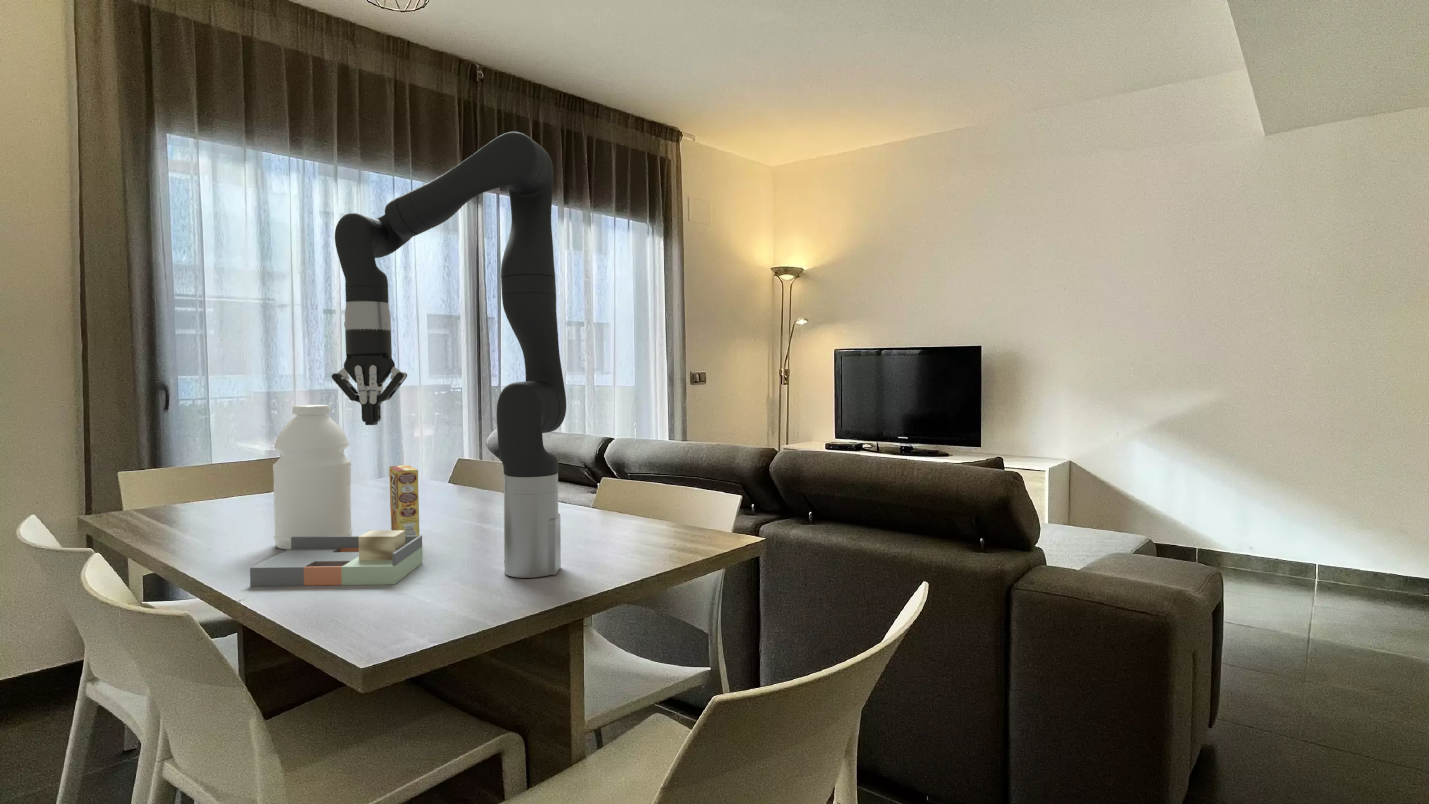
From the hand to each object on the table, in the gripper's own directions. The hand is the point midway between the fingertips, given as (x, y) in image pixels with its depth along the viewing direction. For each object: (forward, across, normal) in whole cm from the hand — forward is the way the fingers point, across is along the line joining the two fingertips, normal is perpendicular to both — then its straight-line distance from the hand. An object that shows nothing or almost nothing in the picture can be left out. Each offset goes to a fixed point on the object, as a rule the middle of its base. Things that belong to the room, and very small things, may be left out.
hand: (371, 424), depth 138 cm
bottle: (+25, +18, -18) cm, 36 cm away
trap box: (+25, +4, +6) cm, 26 cm away
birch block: (+22, -4, +7) cm, 24 cm away
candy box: (+25, 0, -18) cm, 31 cm away
